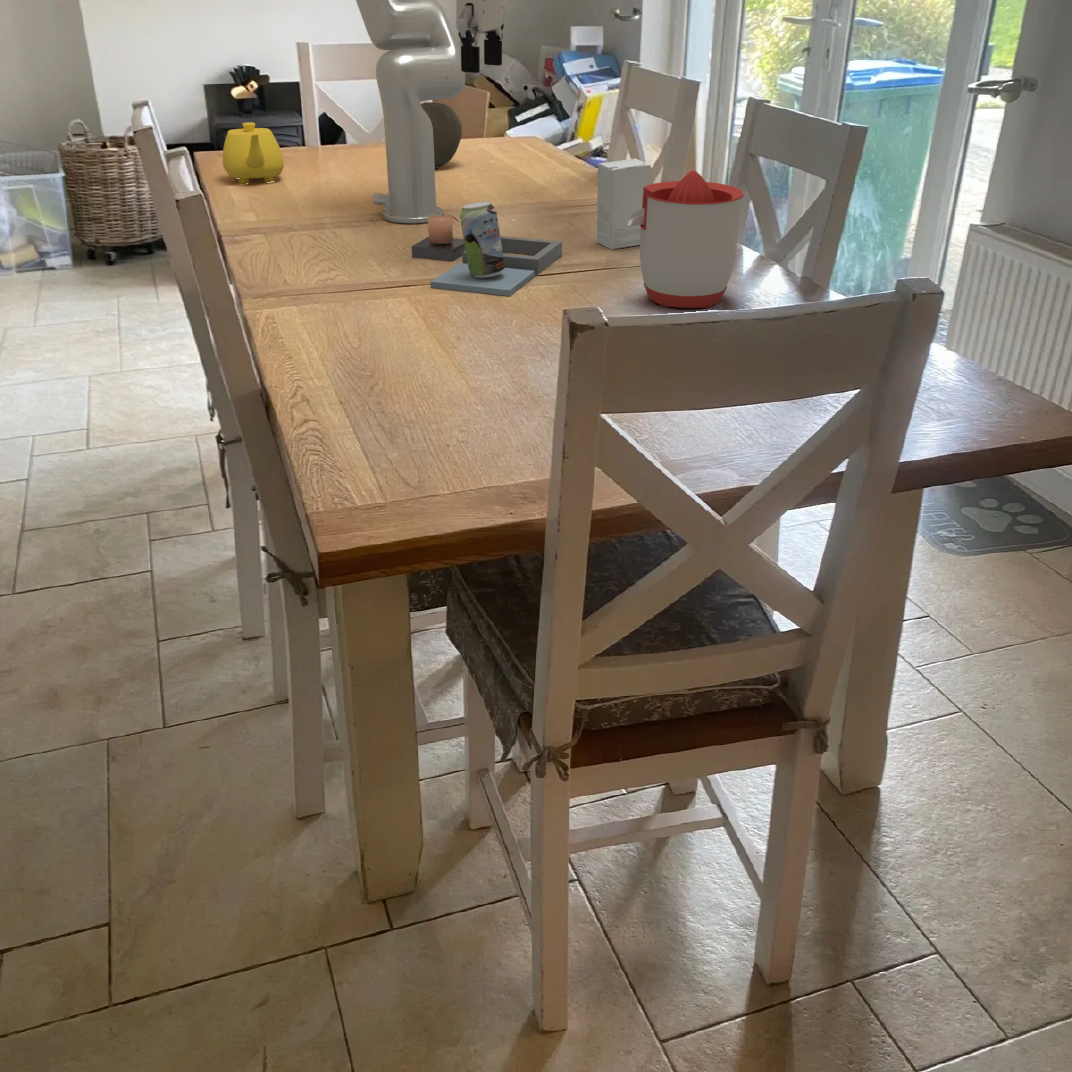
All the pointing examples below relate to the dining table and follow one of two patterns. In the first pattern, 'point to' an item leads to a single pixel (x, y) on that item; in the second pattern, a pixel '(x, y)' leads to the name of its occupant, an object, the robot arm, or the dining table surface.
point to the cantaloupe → (443, 131)
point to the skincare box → (620, 201)
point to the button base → (439, 250)
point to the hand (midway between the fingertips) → (481, 68)
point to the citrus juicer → (688, 240)
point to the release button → (440, 229)
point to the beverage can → (482, 239)
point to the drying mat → (483, 281)
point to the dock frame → (541, 250)
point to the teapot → (252, 154)
